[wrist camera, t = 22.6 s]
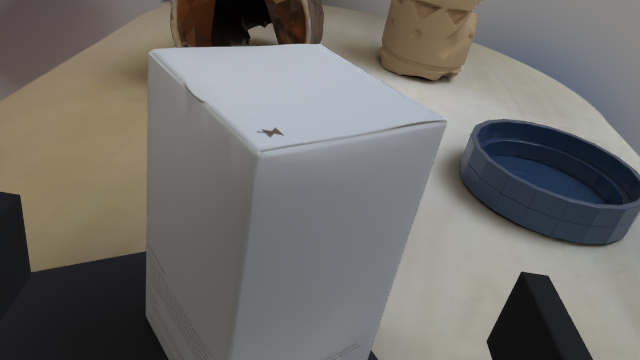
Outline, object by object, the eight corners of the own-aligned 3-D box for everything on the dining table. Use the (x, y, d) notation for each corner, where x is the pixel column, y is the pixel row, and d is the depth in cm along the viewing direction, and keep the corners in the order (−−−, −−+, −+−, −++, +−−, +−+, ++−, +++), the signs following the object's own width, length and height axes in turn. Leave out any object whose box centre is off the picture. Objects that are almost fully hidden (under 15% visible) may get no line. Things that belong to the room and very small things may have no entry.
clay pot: (341, -34, 72) (321, -51, 48) (332, 79, 77) (309, 113, 53) (235, -42, 73) (165, -63, 49) (232, 69, 78) (168, 99, 54)
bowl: (661, 228, 50) (684, 193, 47) (553, 262, 41) (575, 222, 39) (531, 146, 61) (544, 115, 59) (426, 160, 53) (437, 124, 51)
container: (398, 82, 71) (437, -60, 62) (364, 50, 81) (394, -76, 72) (474, 87, 76) (521, -45, 67) (434, 56, 86) (470, -62, 76)
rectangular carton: (369, 374, 28) (459, 119, 20) (214, 454, 23) (254, 154, 15) (280, 267, 33) (324, 39, 26) (141, 312, 28) (143, 43, 21)
